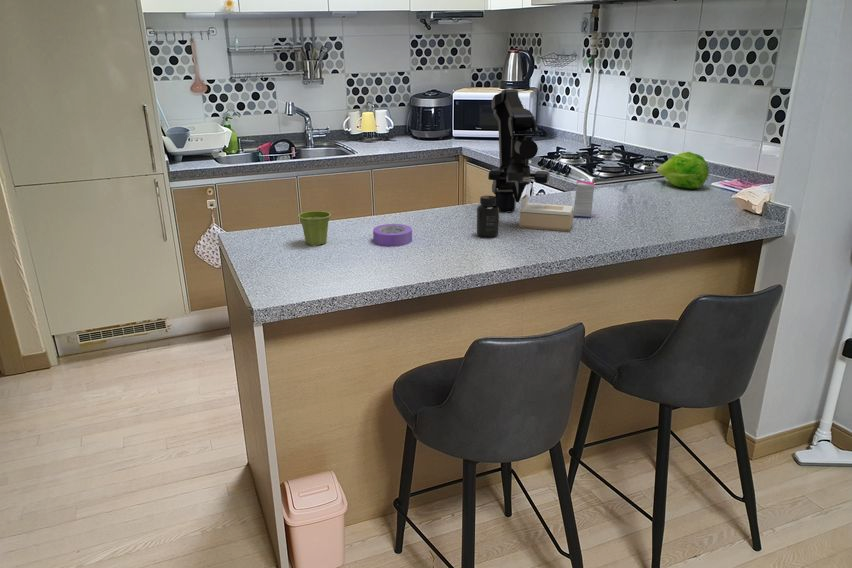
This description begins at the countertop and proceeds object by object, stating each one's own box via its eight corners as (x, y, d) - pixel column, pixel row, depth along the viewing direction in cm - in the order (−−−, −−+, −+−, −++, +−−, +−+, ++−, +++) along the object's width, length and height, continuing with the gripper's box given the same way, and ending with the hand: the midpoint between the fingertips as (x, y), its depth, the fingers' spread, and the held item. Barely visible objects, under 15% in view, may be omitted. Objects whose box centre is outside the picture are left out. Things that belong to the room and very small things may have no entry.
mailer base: (519, 227, 214) (519, 212, 212) (523, 221, 221) (524, 206, 219) (569, 231, 209) (571, 216, 208) (572, 225, 216) (573, 210, 215)
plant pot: (303, 238, 204) (301, 210, 200) (334, 238, 203) (333, 210, 200) (297, 247, 195) (295, 218, 192) (329, 247, 195) (327, 218, 191)
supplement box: (591, 218, 224) (594, 184, 220) (573, 217, 225) (576, 184, 221) (591, 214, 230) (593, 181, 226) (573, 213, 231) (576, 180, 227)
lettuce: (644, 189, 275) (669, 190, 283) (690, 187, 256) (716, 188, 263) (645, 153, 274) (670, 155, 281) (692, 148, 254) (718, 150, 262)
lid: (520, 211, 212) (521, 199, 210) (524, 205, 219) (525, 193, 218) (570, 215, 207) (571, 202, 206) (573, 209, 215) (574, 196, 213)
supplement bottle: (500, 233, 208) (502, 195, 204) (495, 239, 202) (496, 200, 198) (479, 231, 210) (480, 193, 206) (473, 237, 204) (474, 198, 200)
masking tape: (399, 249, 194) (398, 236, 192) (365, 243, 199) (365, 231, 198) (419, 239, 203) (419, 226, 202) (386, 233, 209) (386, 221, 207)
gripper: (485, 156, 205) (483, 205, 211) (545, 159, 200) (542, 210, 205) (493, 150, 215) (491, 198, 221) (551, 153, 210) (548, 202, 215)
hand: (517, 202), depth 215 cm, fingers closed
